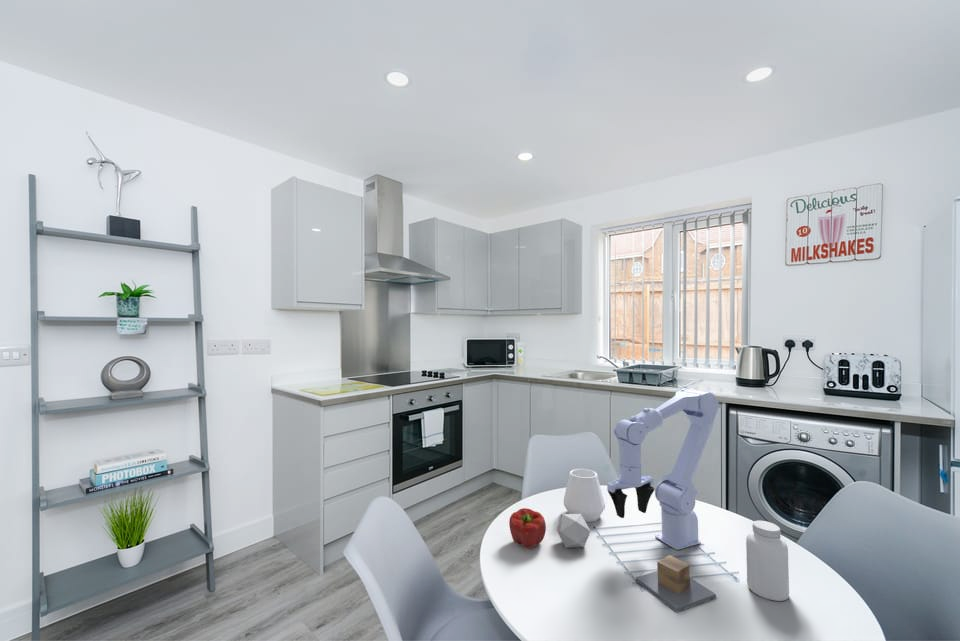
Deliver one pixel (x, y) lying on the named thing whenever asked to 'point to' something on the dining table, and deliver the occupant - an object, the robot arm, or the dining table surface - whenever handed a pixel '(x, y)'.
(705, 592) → the slate coaster
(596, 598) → the dining table surface
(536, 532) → the vegetable
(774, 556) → the pill bottle
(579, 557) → the dining table surface
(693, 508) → the robot arm
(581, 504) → the white vase
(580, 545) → the die
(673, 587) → the tan cube
